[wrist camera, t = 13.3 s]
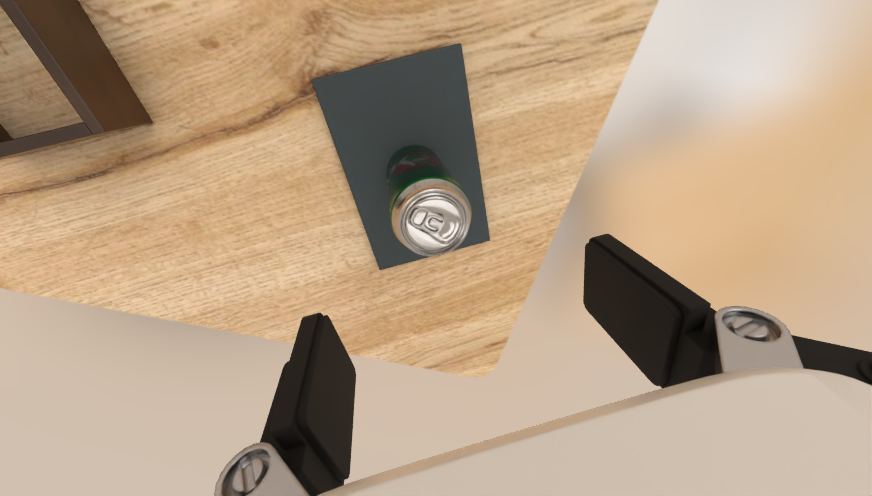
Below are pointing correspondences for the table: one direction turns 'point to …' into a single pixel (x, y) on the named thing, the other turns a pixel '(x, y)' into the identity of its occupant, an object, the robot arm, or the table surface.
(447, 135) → the mat
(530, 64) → the table surface
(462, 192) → the soda can
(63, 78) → the frame
